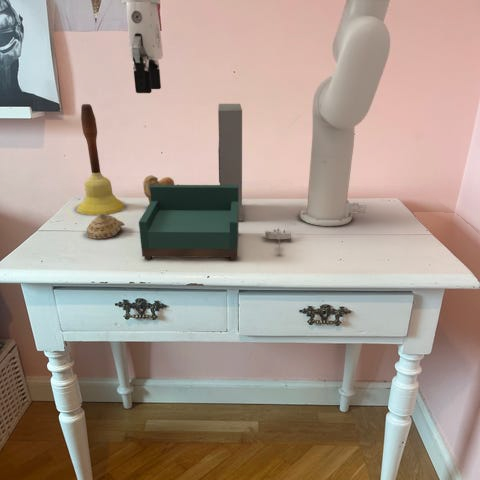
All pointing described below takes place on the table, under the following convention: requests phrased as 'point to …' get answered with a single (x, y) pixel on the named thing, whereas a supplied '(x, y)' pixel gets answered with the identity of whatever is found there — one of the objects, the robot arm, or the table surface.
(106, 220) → the seashell
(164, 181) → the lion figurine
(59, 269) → the table surface
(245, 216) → the table surface
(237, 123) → the tall grey pillar
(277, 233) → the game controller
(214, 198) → the sofa
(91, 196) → the handbell
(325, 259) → the table surface
